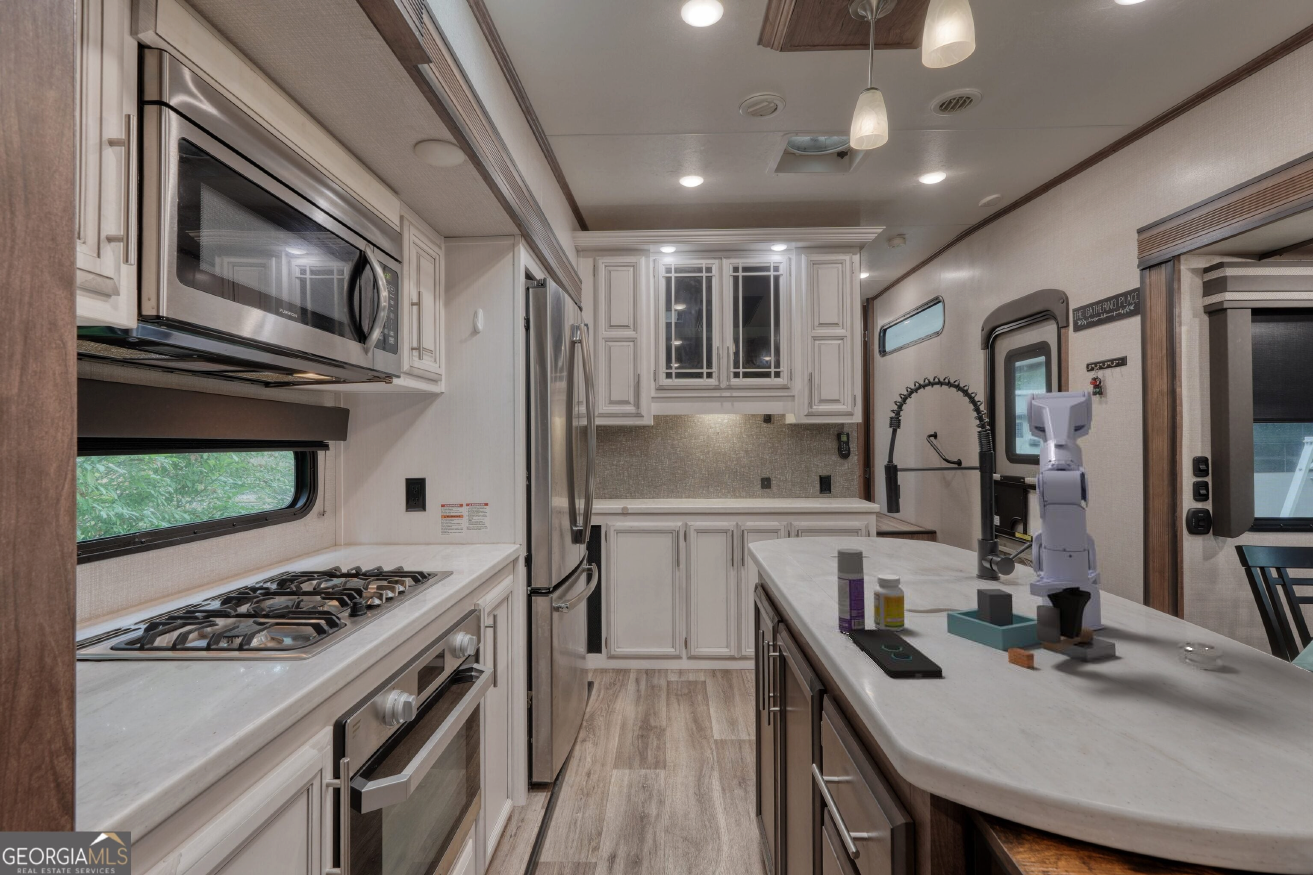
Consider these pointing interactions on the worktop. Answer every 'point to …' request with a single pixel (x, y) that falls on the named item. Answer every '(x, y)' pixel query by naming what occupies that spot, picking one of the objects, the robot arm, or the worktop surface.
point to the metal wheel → (1200, 655)
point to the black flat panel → (894, 654)
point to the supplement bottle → (889, 603)
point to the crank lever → (1056, 630)
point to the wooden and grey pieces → (1068, 652)
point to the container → (850, 590)
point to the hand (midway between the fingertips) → (1068, 636)
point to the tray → (993, 630)
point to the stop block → (995, 607)
